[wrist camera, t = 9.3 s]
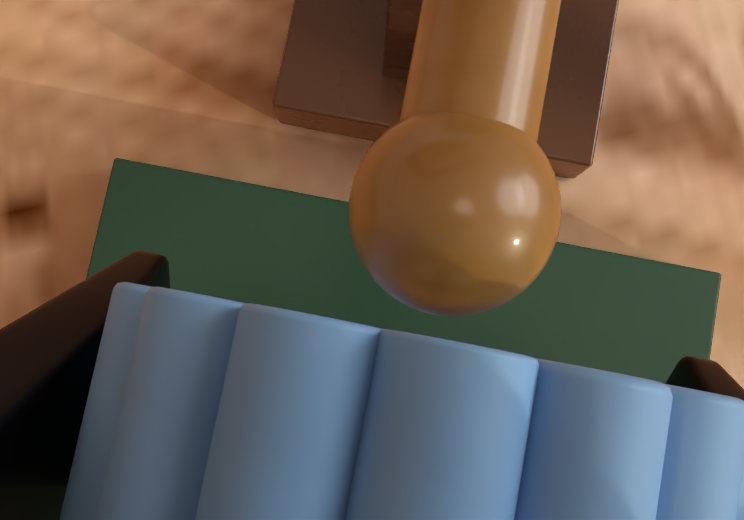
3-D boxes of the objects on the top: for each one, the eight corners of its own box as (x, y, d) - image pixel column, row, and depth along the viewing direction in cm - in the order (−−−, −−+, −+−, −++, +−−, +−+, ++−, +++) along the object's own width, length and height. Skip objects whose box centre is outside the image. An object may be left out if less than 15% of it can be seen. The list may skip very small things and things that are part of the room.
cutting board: (612, 845, 17) (636, 895, 16) (5, 726, 17) (-29, 763, 16) (694, 277, 19) (722, 273, 17) (133, 170, 19) (113, 156, 17)
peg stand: (546, 354, 18) (890, 393, 6) (242, 296, 18) (19, 226, 6) (606, -15, 19) (997, -574, 7) (319, -69, 19) (250, -709, 8)
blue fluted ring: (591, 529, 11) (945, 823, 4) (168, 446, 11) (-129, 613, 5) (614, 380, 12) (980, 442, 5) (200, 301, 12) (-33, 246, 5)
